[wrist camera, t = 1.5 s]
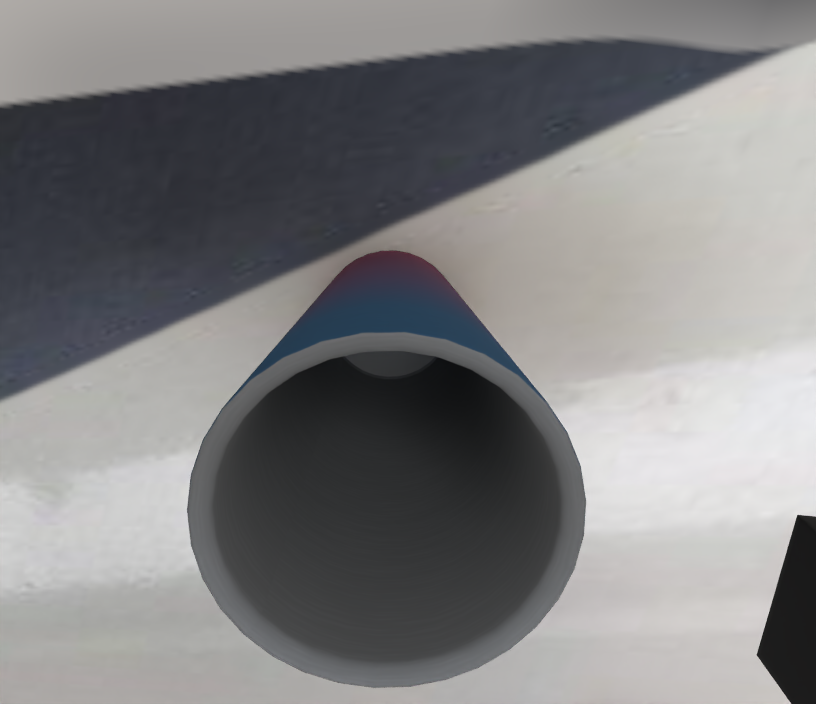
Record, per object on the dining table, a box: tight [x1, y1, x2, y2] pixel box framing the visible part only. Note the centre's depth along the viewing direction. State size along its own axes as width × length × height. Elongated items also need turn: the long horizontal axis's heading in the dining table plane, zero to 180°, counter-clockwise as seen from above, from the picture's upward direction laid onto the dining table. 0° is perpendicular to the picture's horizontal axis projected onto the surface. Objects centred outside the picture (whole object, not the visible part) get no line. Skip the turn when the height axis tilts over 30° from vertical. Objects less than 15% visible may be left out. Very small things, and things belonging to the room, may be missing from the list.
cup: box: [187, 251, 586, 688], centre depth 19 cm, size 7×7×15 cm
